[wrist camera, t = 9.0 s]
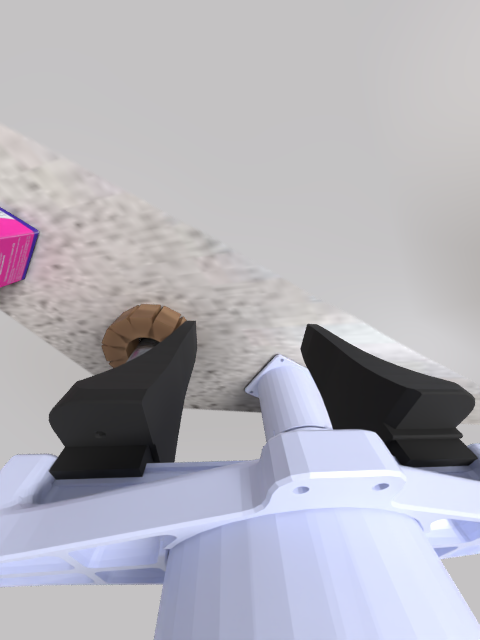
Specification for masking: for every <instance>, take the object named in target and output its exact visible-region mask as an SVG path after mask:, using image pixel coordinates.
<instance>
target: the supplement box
mask: <svg viewBox="0 0 480 640" xmlns="http://www.w3.org/2000/svg"><path fill="white" fill-rule="evenodd" d="M38 234H39V231H38V230H37V229H35V228H34V227H32V226H30V225H29V224H27V223H25V222H24V221H22V220H21V219H19V218H17V217H16V216H14V215H12V214H11V213H9V212H7V211H6V210H4V209H2V208H1V207H0V288H1V287H3V286H6V285H9V284H12V283H14V282H17V281H20V280H23V279H25V275H26V272H27V269H28V266H29V262H30V259H31V256H32V253H33V249H34V246H35V243H36V240H37V237H38Z"/></svg>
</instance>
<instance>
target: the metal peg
mask: <svg viewBox="0 0 480 640" xmlns="http://www.w3.org/2000/svg"><path fill="white" fill-rule="evenodd" d="M159 343H160V342H159V341H157V340H155V339H152V338H142V339H141V341H140V342H139V344H138V345H137V347H136V348H135V350H134V351H133V353H132V354H131V356H130V357H129V359H128V360H127V362H129V361H131V360H132V359H134V358H136V357H138V356H140V355H142V354H144V353H145V352H147V351H149V350H150V349H152V348H153V347H155V346H156V345H158V344H159ZM127 362H126V363H127Z"/></svg>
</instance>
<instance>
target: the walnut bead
mask: <svg viewBox="0 0 480 640" xmlns="http://www.w3.org/2000/svg"><path fill="white" fill-rule="evenodd" d="M180 315H181V314H179V313H177V312H175V311H173V310H171V309H170V308H168V307H166V306H164V307H163V308H162V310H161V305H150V304H141V305H140V306H139V305H137V306H135V307H133V308H131V309H130V310H128V311H126V312H124V313H123V314H122V315H121V316H120V317H119V318H118V319H117V320H116V321H115V322H114V323H113V324H112V325H111V326H110V327H109V328H108V329H107V330H106V333H105V335H104V338H103V340H102V344H103V345H102V349H103V352H104V355H105V358H106V360H107V361H110V363H109V364H110V365H111V366H112V367H113V368H116V367H118V366H120V365H122V364H125V363H126V362H127V360H128V359H129V357H130V356H131V354H132V353H133V351H134V350H135V348H136V347H137V345H138V344H139V339H138V337H143V338H152V339H155V340H157V341H159V342H162V341H163V340H164V339H166V338H167V337H168V336H169V335H170V334H172V333H173V332H174V331H175V330H176V329H177V328H178V327H179V326H180V325H182V324H183V323H184V322H185V321H187V320H186V319H185V318H184V317H182V318H180ZM179 318H180V319H179Z"/></svg>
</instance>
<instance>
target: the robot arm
mask: <svg viewBox="0 0 480 640" xmlns="http://www.w3.org/2000/svg"><path fill="white" fill-rule="evenodd" d="M196 352H197V336H196V321H185V322H184V323H183V324H182V325H180V326H179V327H178V328H177V329H176V330H175V331H174V332H173V333H172V334H170V335H169V336H168V337H167V338H166V339H164V340H163V341H162V342H160V343H159V344H158V345H156V346H155V347H153V348H152V349H150V350H149V351H147V352H145V353H144V354H142V355H140V356H138V357H136V358H134V359H132V360H131V361H129V362H127V363H125V364H122V365H120V366H118V367H116V368H113V369H111V370H108V371H106V372H103V373H100V374H98V375H95V376H92V377H89V378H86V379H83V380H80V381H77V382H76V383H75V384H74V385H73V386H72V387H71V388H70V390H69V391H68V392H67V393H66V394H65V395H64V396H63V398H62V399H61V400H60V401H59V402H58V403H57V404H56V405H55V407H54V408H53V409H52V410H51V412H50V414H49V422H50V425H51V427H52V429H53V430H54V432H55V433H56V434H57V436H58V437H59V438H60V440H61V442H62V443H63V445H64V446H65V448H64V449H63V451H62V452H61V454H60V455H59V457H57V456H55V455H52V454H17V455H14V456H13V457H12V458H11V459H10V460H9V461H8V462H7V463H6V465H5V466H4V467H3V468H2V469H1V470H0V587H15V586H39V585H40V586H41V585H135V584H136V585H137V584H138V585H144V584H145V585H146V584H163V589H162V595H161V600H160V606H159V612H158V618H157V624H156V629H155V636H154V640H480V625H479V623H478V621H477V620H476V618H475V616H474V615H473V613H472V611H471V610H470V608H469V606H468V605H467V603H466V601H465V600H464V598H463V597H462V595H461V593H460V592H459V590H458V588H457V587H456V585H455V583H454V582H453V580H452V578H451V577H450V575H449V573H448V572H447V570H446V568H445V567H444V565H443V564H442V562H441V560H440V559H445V558H451V557H458V556H465V555H472V554H479V553H480V443H475V444H470V445H468V446H466V445H465V444H464V443H463V442H462V441H461V440H460V439H459V438H462V437H463V435H462V433H460V432H459V431H458V430H457V429H456V427H457V425H459V424H460V423H461V422H462V421H463V420H464V419H465V418H466V417H467V416H468V415H469V414H470V412H471V411H472V410H473V408H474V406H475V398H474V397H473V396H472V395H471V394H470V393H469V392H468V391H466V390H465V389H464V388H462V387H461V386H460V385H458V384H456V383H454V382H450V381H447V380H443V379H439V378H435V377H432V376H428V375H424V374H421V373H418V372H415V371H412V370H409V369H406V368H403V367H400V366H397V365H395V364H392V363H390V362H387V361H384V360H382V359H380V358H377V357H375V356H373V355H371V354H369V353H367V352H365V351H363V350H361V349H359V348H357V347H355V346H353V345H351V344H349V343H348V342H346V341H344V340H343V339H341V338H339V337H338V336H336V335H334V334H333V333H331V332H329V331H328V330H326V329H324V328H323V327H321V326H319V325H317V324H307V327H306V331H305V334H304V338H303V342H302V345H301V353H302V356H303V359H304V362H305V364H306V366H307V368H308V369H307V368H305V367H303V366H301V365H299V364H297V363H295V362H294V361H292V360H290V359H288V358H286V357H284V356H282V355H280V354H278V355H276V356H275V357H274V358H273V359H272V360H271V361H270V362H269V363H268V364H267V366H266V367H265V368H264V369H263V370H262V371H261V372H260V373H259V374H258V375H257V376H256V377H255V378H254V379H253V381H252V382H251V383H250V384H249V385H248V386H247V387H246V388H245V392H246V393H248V394H250V395H253V396H255V397H258V398H259V400H260V406H261V412H262V418H263V424H264V430H265V436H266V442H267V443H266V445H265V446H263V449H262V453H261V457H260V459H256V460H249V461H248V460H246V461H212V462H180V463H179V462H178V463H174V461H175V454H176V447H177V441H178V434H179V428H180V422H181V415H182V410H183V405H184V399H185V395H186V391H187V387H188V384H189V380H190V377H191V374H192V370H193V367H194V363H195V358H196ZM281 359H283V360H281Z"/></svg>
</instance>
